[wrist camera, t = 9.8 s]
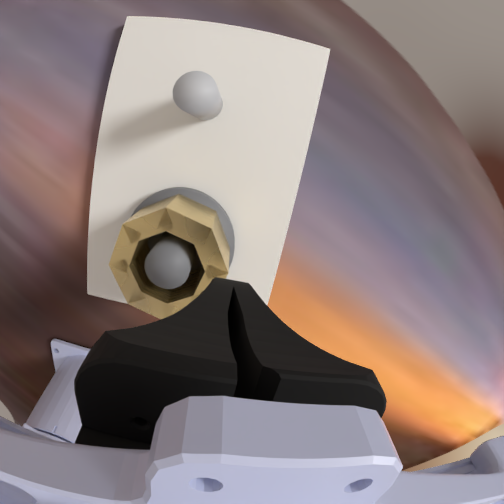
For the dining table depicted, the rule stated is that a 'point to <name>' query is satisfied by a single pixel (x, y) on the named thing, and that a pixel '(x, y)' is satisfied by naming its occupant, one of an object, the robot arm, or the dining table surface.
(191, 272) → the brass collar
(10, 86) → the dining table surface
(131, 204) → the assembly board
